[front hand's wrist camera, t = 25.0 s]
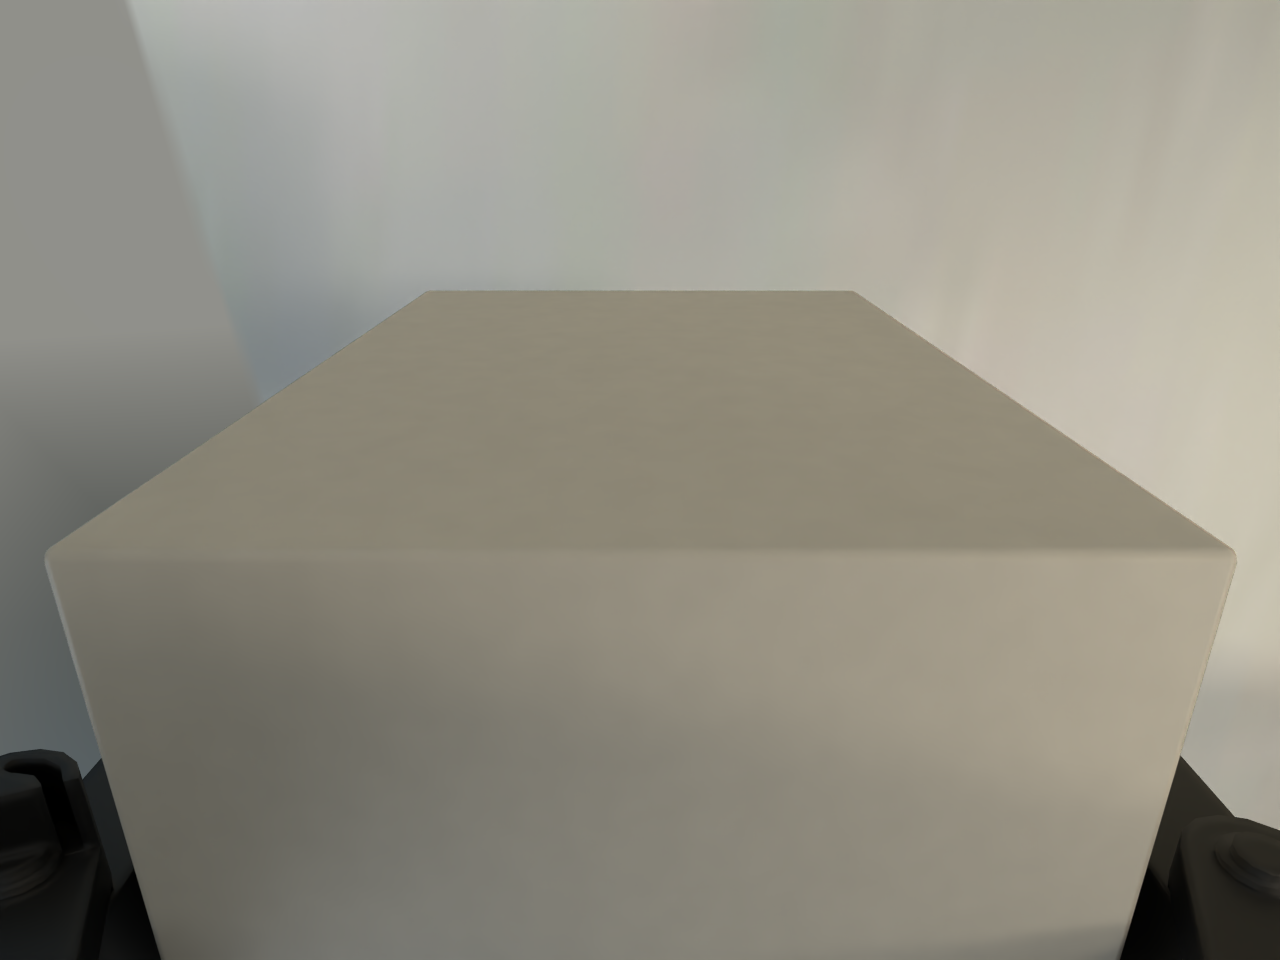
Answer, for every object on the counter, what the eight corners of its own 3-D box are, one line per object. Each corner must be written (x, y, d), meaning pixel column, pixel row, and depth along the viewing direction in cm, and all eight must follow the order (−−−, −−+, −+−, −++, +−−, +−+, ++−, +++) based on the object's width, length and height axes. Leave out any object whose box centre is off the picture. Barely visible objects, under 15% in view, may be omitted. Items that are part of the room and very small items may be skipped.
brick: (425, 289, 15) (33, 551, 5) (855, 290, 15) (1247, 553, 5) (462, 692, 19) (260, 1313, 9) (817, 692, 19) (1019, 1314, 9)
